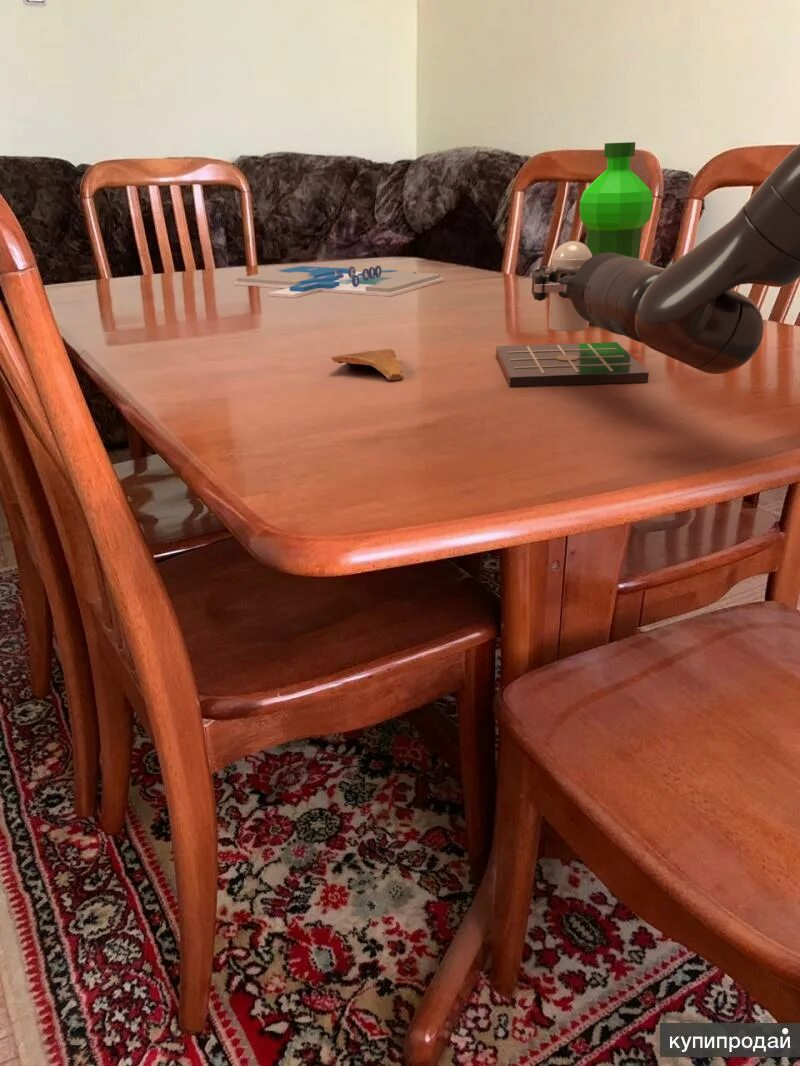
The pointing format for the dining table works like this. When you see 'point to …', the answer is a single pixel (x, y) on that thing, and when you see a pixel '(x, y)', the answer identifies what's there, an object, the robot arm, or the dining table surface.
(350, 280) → the relief map
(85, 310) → the dining table surface
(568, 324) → the dome-topped cylinder
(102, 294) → the dining table surface
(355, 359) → the pottery shard
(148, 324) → the dining table surface
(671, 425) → the dining table surface
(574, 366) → the board
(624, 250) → the plastic bottle
